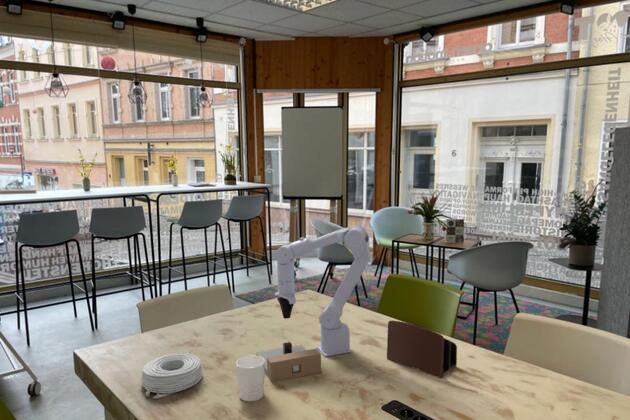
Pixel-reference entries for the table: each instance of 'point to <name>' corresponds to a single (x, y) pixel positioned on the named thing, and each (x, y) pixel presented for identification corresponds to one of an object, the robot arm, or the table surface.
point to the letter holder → (420, 348)
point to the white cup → (251, 377)
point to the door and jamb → (291, 362)
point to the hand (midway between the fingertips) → (286, 317)
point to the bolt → (288, 349)
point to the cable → (171, 374)
